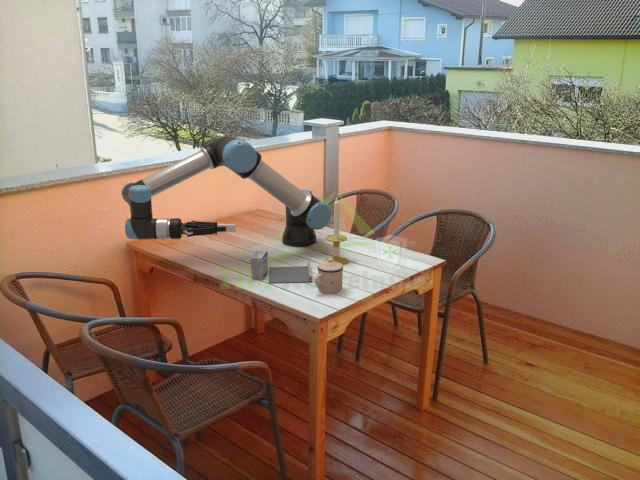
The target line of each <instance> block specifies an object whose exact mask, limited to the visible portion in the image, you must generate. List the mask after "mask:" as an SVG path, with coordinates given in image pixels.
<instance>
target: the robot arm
mask: <svg viewBox="0 0 640 480" xmlns="http://www.w3.org/2000/svg"><path fill="white" fill-rule="evenodd" d="M262 156H263V155H262V154H261V153H260V152H258V151H257V150H256V149H255V148H254V146H253V145H252V144H251V143H250V142H248V141H247V140H244V139H239V138H237V137H234V136H230V135H226V136H222V137H219V138H216V139H215V140H212V141H210V142H209V143H207V144H205V145H203V146H201V147H200V149H199V151H196V152H195V153H193V154H190V155H188V156H187V157H184V158H183V159H180V160H178V161H177V162H175V163H173V164H170V165H169V166H167V167H164V168H162V169H160V170H158V171H156V172H155V173H151V174H150V175H148V176H146V177H144V178H141V179H140V180H137V181H136V182H128V183H126V184H124V186H122V189H121V196H122V199H123V200H124V201H125V202H126V203H127V205H128V206H129V211H130V218H127V219H126V221H125V223H124V231H125V233H124V234H125V236H126V238H127V239H129V240H138V241H139V240H140V241H141V240H161V241H164V240H169V239H171V240H180V239H181V238H182V236H183V235H186V236H187V238H189V237H194V236H195V237H197V236H209V235H215V236H217V235H218V233H236V223H218V221H215V222H214V221H198V220H191V221H186V222H183V221H182V219H181V218H179V217H176V218H169V217H167V218H161V217H160V218H153V205H152V204H153V203H152V197H154V196H157V195H159V194H160V193H162V192H164V191H166V190H169V189H171V188H172V187H175V186H176V185H179V184H181V183H182V182H184V181H186V180H188V179H190V178H192V177H194V176H197V175H199V174H200V173H202V172H205V171H206V170H208V169H210V170H214V169H217V168H219V167H223V166H224V167H226V168H228V169H229V170H230V171H232V172H233V173H234V174H236V175H237V176H239V177H240V178H241V179H243V180H244V179H245V180H246V179H248V180H250V181H252V183H253V182H254V183H255V184H256V185H258V186H259V187H260V188H262V189H263V190H264V191H266V192H267V193H268V194H269V195H271V196H272V197H274V198H275V199H277V200H278V201H279V202H280V203H281V204H283V205H284V206H285V228H284V231H283V234H282V243H283V244H284V245H286V246H287V247H296V248H297V247H298V248H302V247H309V246H312V245H315V244H316V243H317V234H316V232H315V231H316V230H317V231H318V230H322V229H324V228H325V227H326V226H327V225H328V224H329V223H330V220H331V217H332V211H331V208H330V206H329V205H328V204H327V203H326V202H324V201H321V200H320V199H319V198H317V197H316V196H315V195H314V194H313V191H312V190H311V189H310V190H309V189H299V187H297V186H296V185H295V184H293V183H292V182H291V181H289V180H288V179H287V178H286V177H285V176H283V175H282V174H280V173H279V172H277V171H276V170H275V169H274V168H273V167H271V166H270V165H269V164H267V163H266V162H265V161H264V160H263V159H262Z"/></svg>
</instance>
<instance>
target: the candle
mask: <svg viewBox="0 0 640 480" xmlns="http://www.w3.org/2000/svg"><path fill="white" fill-rule="evenodd" d="M325 240H326V241H328V242H331V243H333V244H332V245H333V246H332V250H333V251H332V252H333V253H332V254H333V255H332V256H328V257H326V258H325V259H324V260H323V262H325V261H328V258H332V259H333V261H336V262H339V263H341V264H342V265H343V266H344V265H347V264H348V263H349V259H348V258H347V257H345V256H340V253H341V251H340V249H341V247H340V246H341V245H340V243H342V242H343V243H344V242H346V241H347V240H348V237H347V236H346V235H341V234H340V201H339V198H338V197H335V201H334V202H333V234H330V235H328V236H326V237H325Z"/></svg>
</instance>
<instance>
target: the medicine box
mask: <svg viewBox="0 0 640 480" xmlns="http://www.w3.org/2000/svg"><path fill="white" fill-rule="evenodd" d="M268 261H269V260H268V251H263V250H258V251H256V252H254V254H253V255H252V256H251V258H250V266H251V267H250V269H251V271H250V272H251V279H252V280H261V281H263V280H264V279H265V278H266V276H267V274H269V264H268V263H269V262H268Z"/></svg>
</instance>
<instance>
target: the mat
mask: <svg viewBox="0 0 640 480" xmlns="http://www.w3.org/2000/svg"><path fill="white" fill-rule="evenodd" d="M311 266H312V265H311V261H309V260H307V265H301V266H300V265H299V266H295V265H294V266H268V284H269V285H270V284H273V285H274V284H300V283H301V284H303V283H304V284H305V283H310V284H311V283H313V274H312V273H313V272H312V267H311Z"/></svg>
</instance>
